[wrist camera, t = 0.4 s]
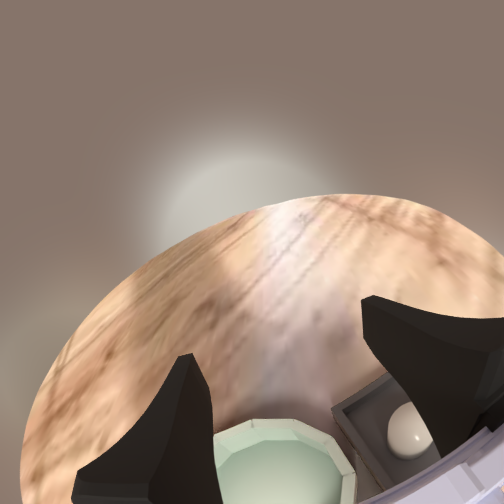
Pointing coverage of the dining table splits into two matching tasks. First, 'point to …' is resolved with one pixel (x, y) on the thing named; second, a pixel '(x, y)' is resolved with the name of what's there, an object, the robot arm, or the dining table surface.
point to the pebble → (407, 433)
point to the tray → (379, 431)
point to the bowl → (282, 465)
